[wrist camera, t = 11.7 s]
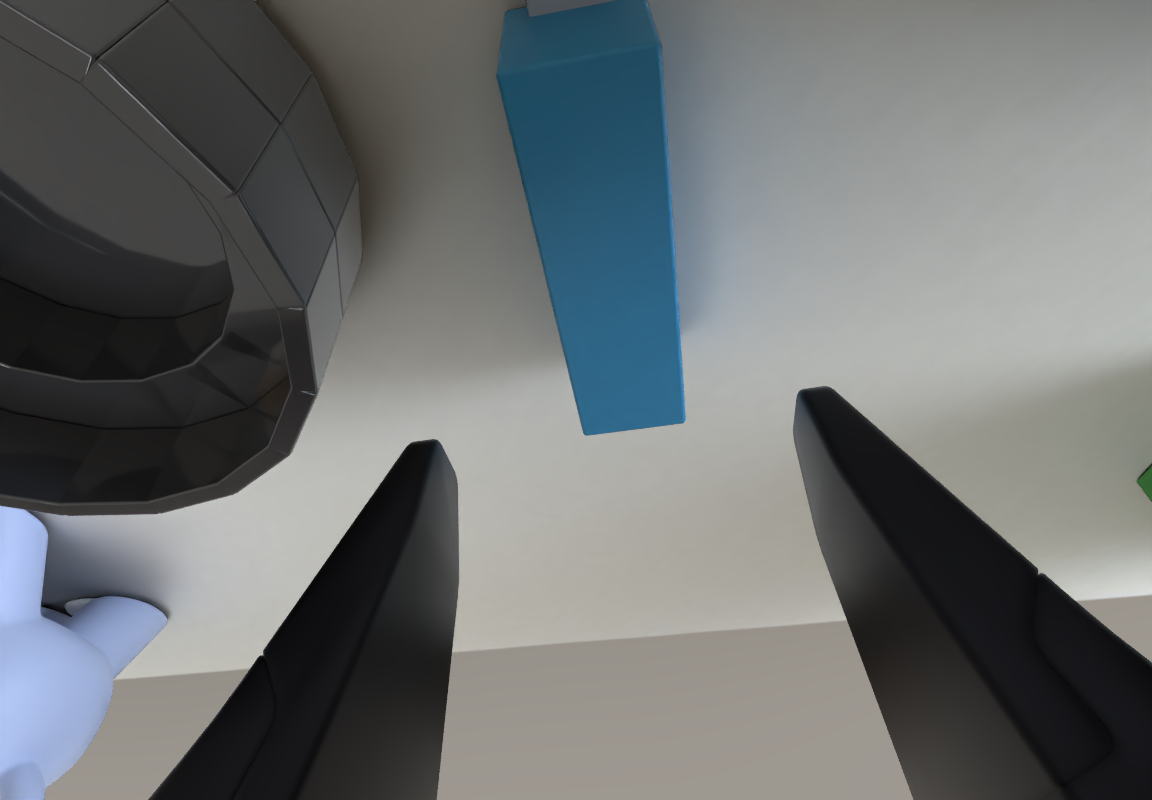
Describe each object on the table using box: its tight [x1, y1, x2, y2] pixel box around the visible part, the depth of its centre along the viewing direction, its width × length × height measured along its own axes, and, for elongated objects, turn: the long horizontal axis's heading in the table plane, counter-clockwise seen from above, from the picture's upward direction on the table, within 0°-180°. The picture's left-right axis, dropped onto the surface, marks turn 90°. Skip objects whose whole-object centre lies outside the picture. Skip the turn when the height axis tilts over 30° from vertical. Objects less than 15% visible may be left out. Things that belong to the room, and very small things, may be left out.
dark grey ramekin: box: [0, 0, 362, 516], centre depth 13 cm, size 12×12×5 cm
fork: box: [496, 0, 686, 436], centre depth 12 cm, size 16×3×3 cm, turn 10°
